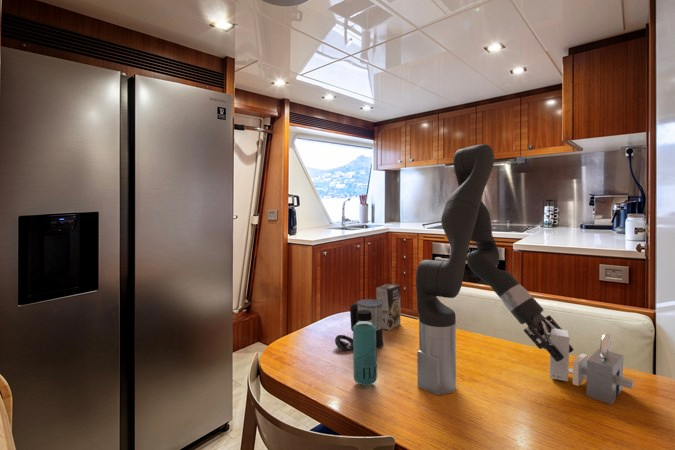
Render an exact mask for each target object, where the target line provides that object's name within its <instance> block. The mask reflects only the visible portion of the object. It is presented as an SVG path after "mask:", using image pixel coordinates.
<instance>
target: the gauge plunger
mask: <svg viewBox="0 0 675 450" xmlns="http://www.w3.org/2000/svg"><path fill="white" fill-rule="evenodd" d="M587 360H588V354H586V353H581V354H580V355H578V356H577V357H576V358H575V359H574V360H573V361H572V369H573V373H572V384H573V385H574V386H578V387H579V386H580V385H581V384H582V383H583V381H584V380H586V379H587V378H586V377H587ZM634 383H635V382H634V379H631V378H627V377H624V376H623V377H620V376H617V375H616V385H620V386H623V388H626V389H627V388H628V389H630V390H633V388H634Z"/></svg>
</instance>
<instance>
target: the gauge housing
mask: <svg viewBox="0 0 675 450" xmlns="http://www.w3.org/2000/svg"><path fill="white" fill-rule="evenodd" d="M611 346H612V337H611V335H610V334H609V333H606V332H604V333H603V334H602V336H601V339H600V346H599V348H598V349H597V350H596V351H595V352H594V353H593V354H592V355H591V356H590V357H589V358H587V377H586V378H585V379H586V397H589V398H591V399H594V400H598V401H599V402H603V403H606V404H609V405H613V404H614V403H615V401H616V399H617V395H618V396H619V395H621V393H622V392H623V390H624V389H623V388H624V387H623V386H620V385H616V375H617V376H620V377H624V354H619V353H617V352H611V348H612V347H611ZM568 373H570V374H573V367H569V369H568Z"/></svg>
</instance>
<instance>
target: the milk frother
mask: <svg viewBox="0 0 675 450" xmlns="http://www.w3.org/2000/svg"><path fill="white" fill-rule="evenodd" d="M359 310H369V311H371V316H372V319H371V320H369V321H367V322H371V323H372V324H373V325H374V326H375V327H376V341H377V344H376V345H377V346H376V349H379V348H382V347H383V346H384V344H385V343H384V340H383V339H384V337H383V336H384V334H383V332H384V331H383V330H384V329H383V327H382V326H383V302H382V301H380V300H376V299H373V298H364V299H360V300H358V301H356V302H354V303H352V304H351V306H350V308H349V312H350V313H349V314H350V315H349V316H350V329H351V332H353V326H354V325H355V324H356V323H358V322H361V321H359V320H357V319H356V316H357V311H359ZM344 340H345V341H344ZM346 341H347V342H346ZM334 342H335V345H336V347H337V348H338V349H340V350H341V351H345V352H351V351H352V350H353V337H349V336H348V335H345V334H338V335H336V337H335V340H334ZM348 342H349V343H350V345H351V346H349V343H348Z"/></svg>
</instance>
